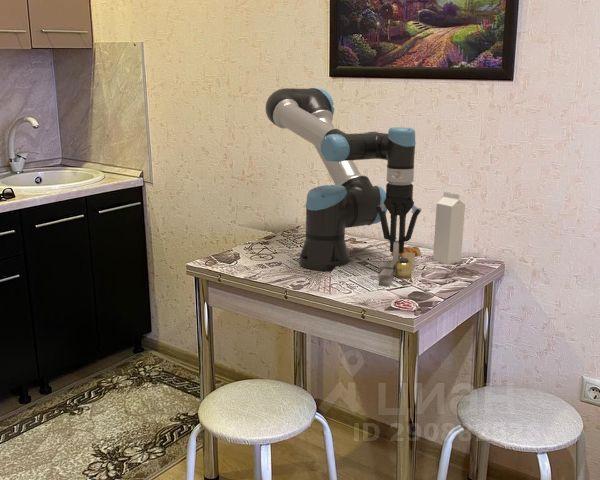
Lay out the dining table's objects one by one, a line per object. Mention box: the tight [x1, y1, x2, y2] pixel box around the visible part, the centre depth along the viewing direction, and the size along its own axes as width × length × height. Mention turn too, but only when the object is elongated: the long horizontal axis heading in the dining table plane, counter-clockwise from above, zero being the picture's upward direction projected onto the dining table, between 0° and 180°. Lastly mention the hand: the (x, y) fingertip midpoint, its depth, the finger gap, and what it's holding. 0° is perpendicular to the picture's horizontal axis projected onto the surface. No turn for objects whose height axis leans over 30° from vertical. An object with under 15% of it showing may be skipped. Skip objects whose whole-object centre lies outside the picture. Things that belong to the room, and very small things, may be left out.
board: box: [378, 257, 408, 287], centre depth 184 cm, size 17×24×6 cm
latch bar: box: [394, 252, 416, 279], centre depth 189 cm, size 13×4×4 cm, turn 162°
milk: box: [432, 191, 466, 265], centre depth 199 cm, size 6×6×22 cm
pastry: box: [390, 246, 422, 258], centre depth 207 cm, size 9×7×4 cm
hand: (396, 263), depth 192 cm, fingers closed
